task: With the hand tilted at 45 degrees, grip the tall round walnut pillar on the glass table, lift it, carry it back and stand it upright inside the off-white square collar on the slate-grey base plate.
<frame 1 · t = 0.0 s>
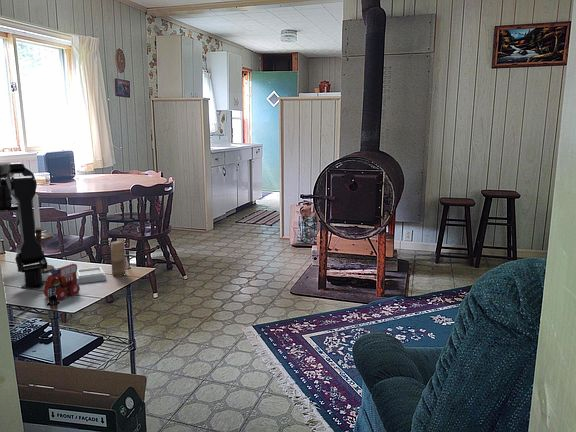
hand: (4, 228, 192), 15 cm above the table, tool pointing down, fingers open, 9 cm apart
toy fire truck: (62, 296, 161), on the table
base plate: (90, 278, 180), on the table
walnut pillar: (119, 274, 185), on the table
candlestick: (41, 270, 188), on the table
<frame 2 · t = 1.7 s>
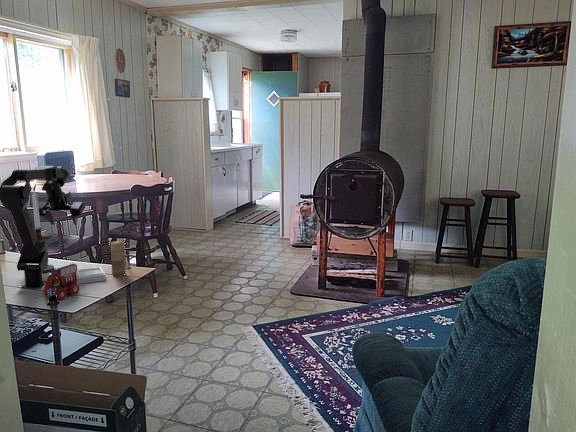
hand: (64, 224, 195), 17 cm above the table, tool tilted 25°, fingers open, 9 cm apart
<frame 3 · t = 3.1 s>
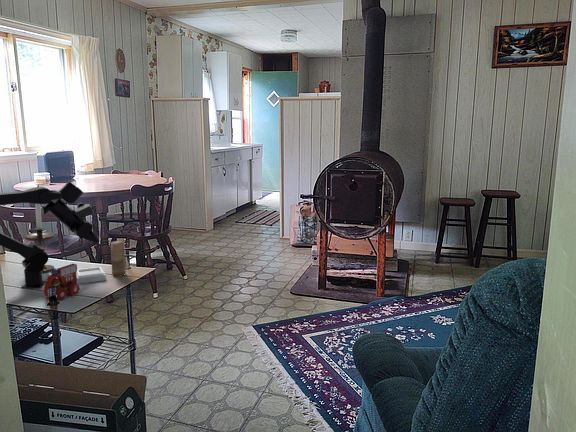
hand: (94, 239, 182), 14 cm above the table, tool tilted 40°, fingers open, 9 cm apart
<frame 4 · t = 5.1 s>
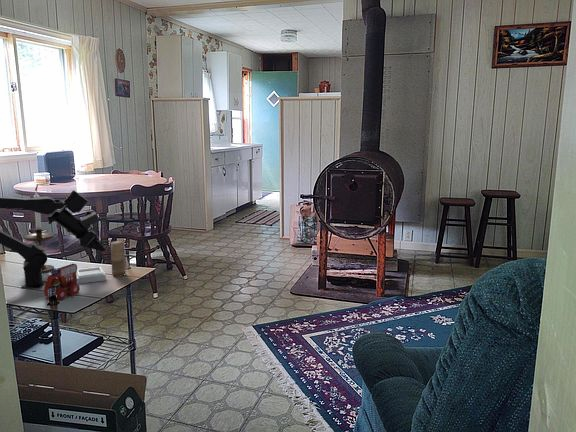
hand: (103, 247, 180), 12 cm above the table, tool tilted 45°, fingers open, 9 cm apart
nothing on the table moved.
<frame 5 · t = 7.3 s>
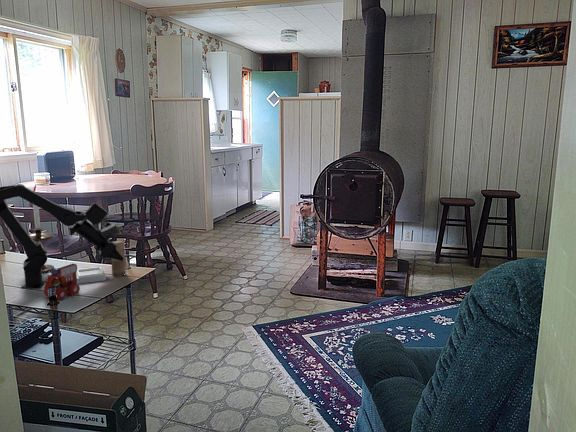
hand: (121, 258, 184), 7 cm above the table, tool tilted 45°, fingers closed on walnut pillar, 5 cm apart
walnut pillar: (119, 274, 185), on the table, touching gripper
everything else where it was.
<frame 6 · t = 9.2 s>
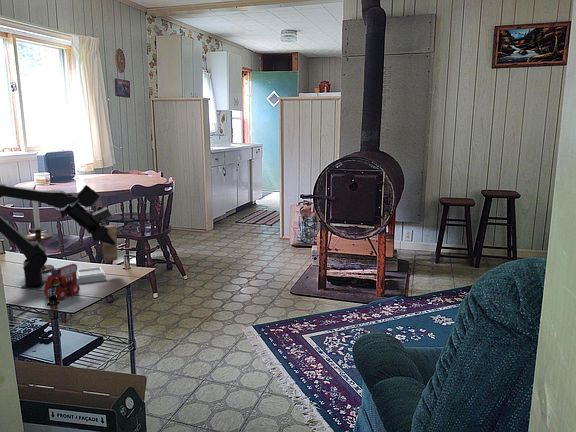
hand: (113, 242, 182), 13 cm above the table, tool tilted 45°, fingers closed on walnut pillar, 5 cm apart
walnut pillar: (110, 259, 182), point 7 cm above the table, touching gripper
everything else where it was.
when the fingers open (10 cm above the table, at t = 11.2 s): walnut pillar drops 1 cm, resting on base plate.
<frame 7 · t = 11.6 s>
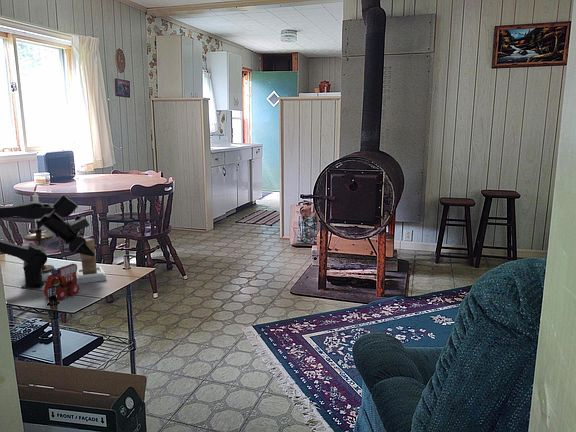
hand: (92, 252, 179), 10 cm above the table, tool tilted 45°, fingers open, 9 cm apart
walnut pillar: (89, 273, 179), point 2 cm above the table, touching base plate
everything else where it was.
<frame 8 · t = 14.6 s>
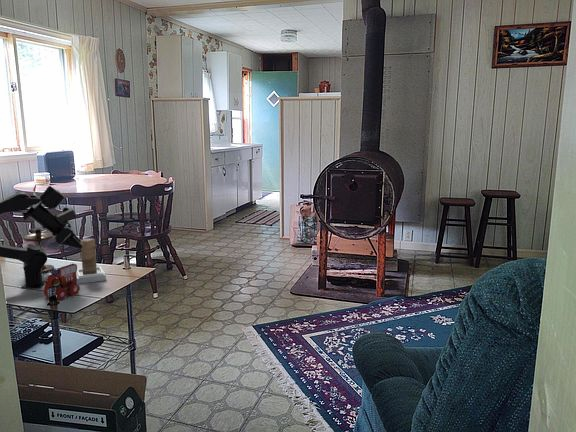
hand: (80, 244, 176), 14 cm above the table, tool tilted 45°, fingers open, 9 cm apart
nothing on the table moved.
at the end: walnut pillar 0.0 cm off-centre on the base plate, point 2.0 cm above the base plate's base; walnut pillar tilted 0°; the gripper is holding nothing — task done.
